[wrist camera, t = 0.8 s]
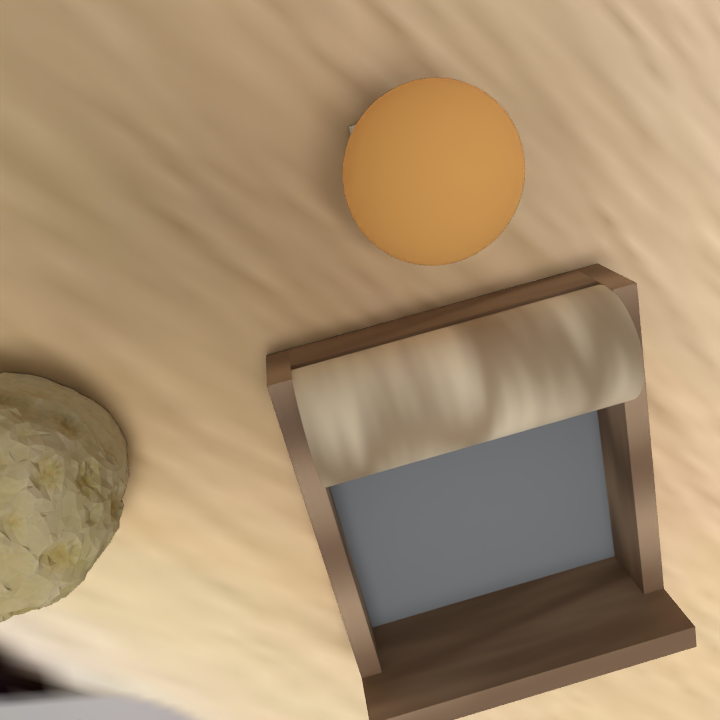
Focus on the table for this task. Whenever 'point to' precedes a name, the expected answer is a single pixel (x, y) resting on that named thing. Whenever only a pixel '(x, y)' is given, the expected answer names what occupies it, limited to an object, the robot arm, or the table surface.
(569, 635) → the brown wooden tray
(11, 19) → the table surface
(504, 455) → the mat
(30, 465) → the decorative item
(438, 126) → the ball
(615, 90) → the table surface
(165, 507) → the table surface
